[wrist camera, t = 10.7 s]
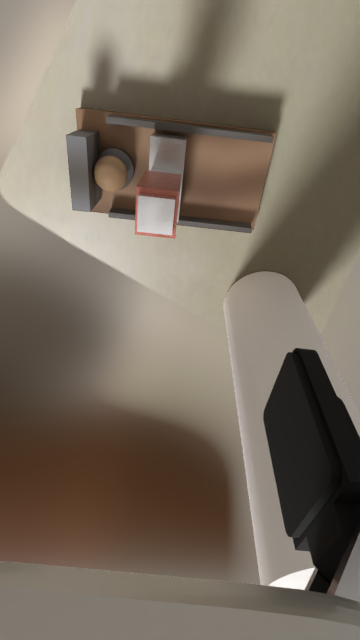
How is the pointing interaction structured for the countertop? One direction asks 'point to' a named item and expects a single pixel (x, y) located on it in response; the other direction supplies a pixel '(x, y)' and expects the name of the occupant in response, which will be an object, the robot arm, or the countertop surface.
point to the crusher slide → (161, 186)
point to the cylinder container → (251, 398)
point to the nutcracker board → (198, 176)
